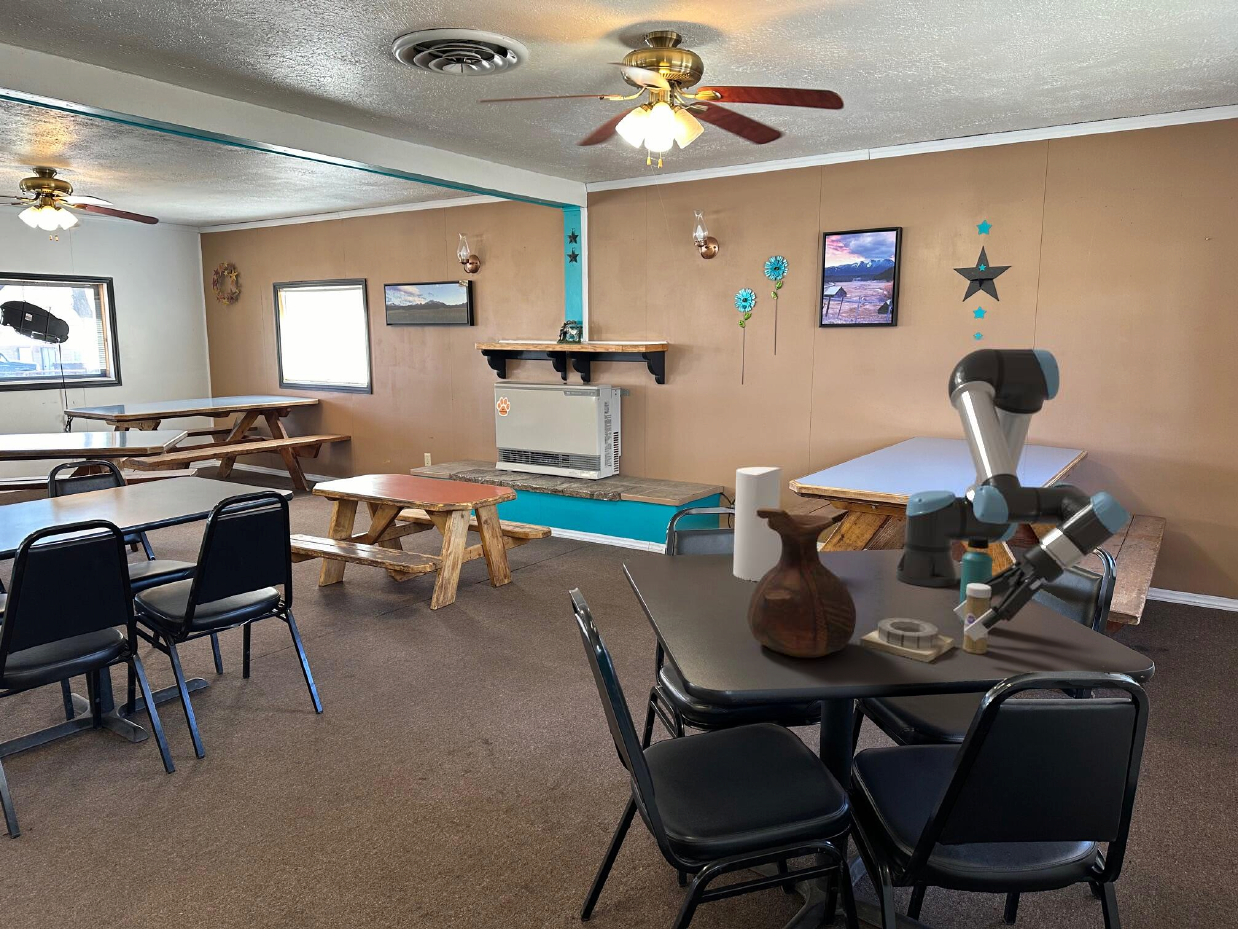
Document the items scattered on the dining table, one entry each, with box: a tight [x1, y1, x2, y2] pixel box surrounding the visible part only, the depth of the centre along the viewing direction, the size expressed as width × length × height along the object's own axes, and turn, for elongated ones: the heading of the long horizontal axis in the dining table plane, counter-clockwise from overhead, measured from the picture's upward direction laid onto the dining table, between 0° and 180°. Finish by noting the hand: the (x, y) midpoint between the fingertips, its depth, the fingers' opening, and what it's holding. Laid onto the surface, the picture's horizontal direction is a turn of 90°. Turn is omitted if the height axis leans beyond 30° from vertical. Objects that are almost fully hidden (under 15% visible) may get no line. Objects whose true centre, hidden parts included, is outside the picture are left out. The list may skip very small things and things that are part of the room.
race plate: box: [859, 617, 955, 663], centre depth 172 cm, size 13×14×4 cm
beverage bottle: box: [957, 536, 994, 623], centre depth 183 cm, size 6×7×20 cm
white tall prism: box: [732, 466, 782, 583], centre depth 225 cm, size 17×17×28 cm
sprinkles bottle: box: [962, 583, 991, 655], centre depth 169 cm, size 5×5×14 cm
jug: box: [747, 508, 857, 659], centre depth 168 cm, size 22×22×30 cm
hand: (963, 625), depth 169 cm, fingers open, 12 cm apart
